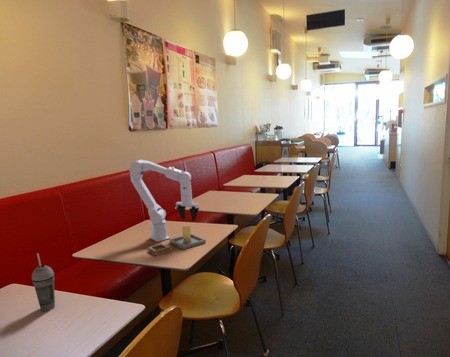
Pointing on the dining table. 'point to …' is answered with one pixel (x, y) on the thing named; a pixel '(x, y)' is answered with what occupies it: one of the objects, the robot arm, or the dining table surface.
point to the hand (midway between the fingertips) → (188, 220)
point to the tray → (194, 242)
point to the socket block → (155, 248)
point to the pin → (186, 234)
